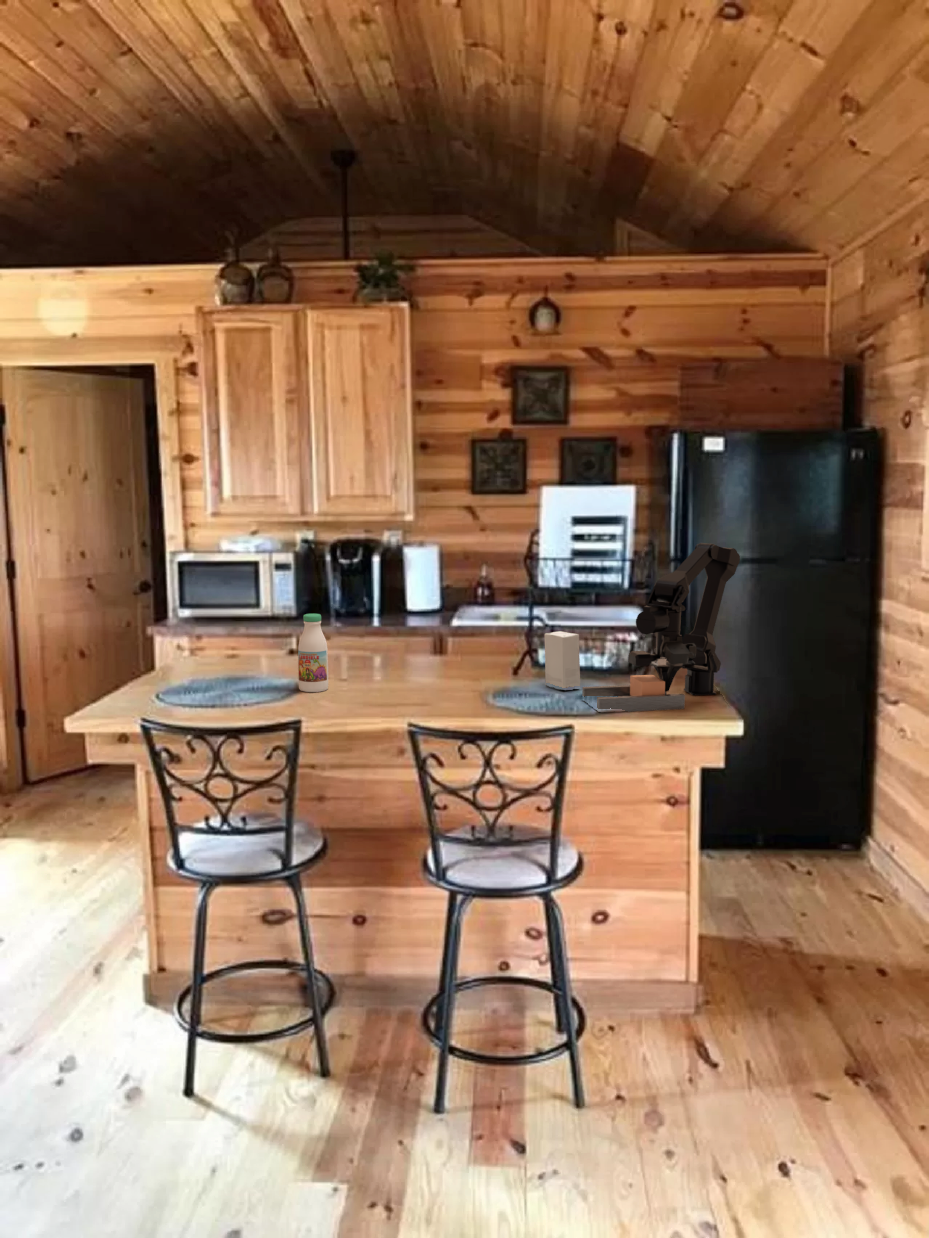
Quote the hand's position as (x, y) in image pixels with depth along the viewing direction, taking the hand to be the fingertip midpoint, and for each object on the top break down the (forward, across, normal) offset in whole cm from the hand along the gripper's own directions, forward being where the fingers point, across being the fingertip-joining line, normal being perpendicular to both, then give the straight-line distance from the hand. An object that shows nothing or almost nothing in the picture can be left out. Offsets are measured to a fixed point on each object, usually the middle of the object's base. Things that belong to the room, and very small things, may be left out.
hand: (666, 691), depth 260 cm
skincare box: (+3, -21, +21) cm, 30 cm away
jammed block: (+2, -5, 0) cm, 5 cm away
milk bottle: (+3, -86, +31) cm, 91 cm away
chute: (+3, -9, 0) cm, 9 cm away
